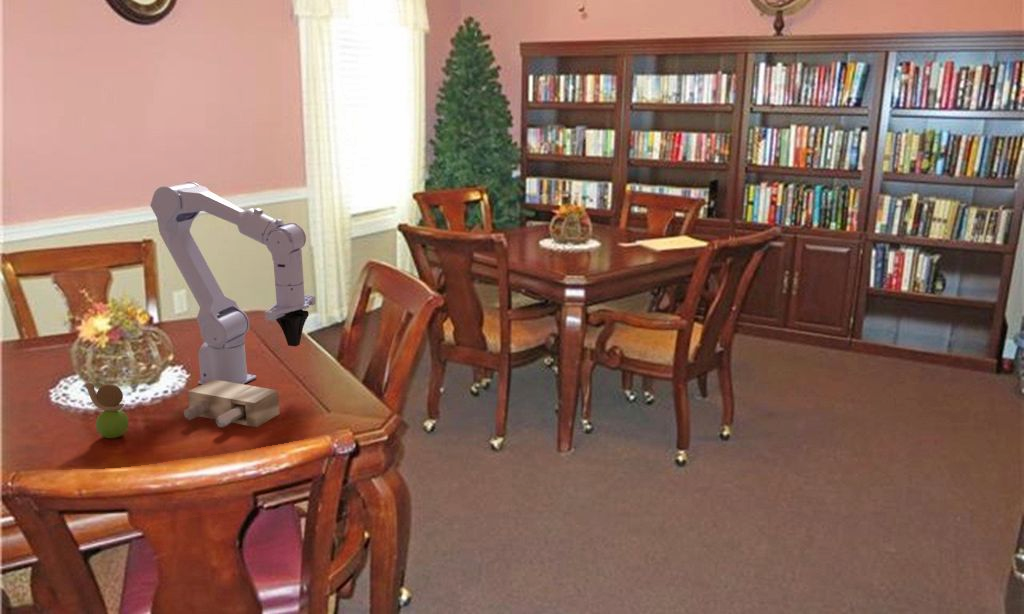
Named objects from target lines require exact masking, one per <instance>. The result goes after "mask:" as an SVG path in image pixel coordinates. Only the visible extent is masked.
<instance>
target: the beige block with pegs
mask: <svg viewBox="0 0 1024 614" xmlns="http://www.w3.org/2000/svg"><path fill="white" fill-rule="evenodd" d="M187 395H188V404H189V405H188V406H189V407H188V408H186V409H184V411H183V416H184V418H185V419H186V420H188V421H191V420H194V419H195V418H198V417H201V418H206V419H210V420H216V418H217V417H218V416H220V415H222V414H224V413H226V412H228V411H229V410H231V409H233V408H235V407H237V406H239V405H245V409H246V415H244V416H243V417H241V418H239V419H237V420H235V421H234V422H232V423H233V424H237V425H243V426H248V427H251V428H259V426H262V425H263V424H265V423H266V422H268V421H270V420H271V419H274V418H275V417H277V416H279V415H280V410H281V409H280V401H279V390H278V389H271V388H266V387H261V386H255V385H249V384H238V383H232V382H226V381H220V380H214V379H212V380H210V381H208V382H206V383H204V384H200V385H198V386H196V387H194V388H192V389H189V390H187ZM232 423H231V424H232Z"/></svg>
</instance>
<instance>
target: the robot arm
mask: <svg viewBox="0 0 1024 614" xmlns="http://www.w3.org/2000/svg"><path fill="white" fill-rule="evenodd" d="M150 208H151V209H152V210H151V211H153V213H154V216H155V217H156V220H157V226H158V232H159V235H160V237H161V238H162V240H163V242H164V244H165V246H166V248H167V249H168V251H169V253H170V255H171V257H172V259H173V260H174V263H175V264H176V266H177V268H178V270H179V271H180V274H181V275H182V277H183V278H184V281H185V283H186V284H187V287H188V288H189V290H190V292H191V294H192V295H193V297H194V299H195V301H196V303H197V305H198V306H199V311H198V313H197V316H196V322H197V324H198V326H199V331H200V336H201V339H202V340H203V344H202V345H201V346H200V348H199V351H198V365H199V372H200V373H199V374H200V380H198V382H197V383H198V384H200V385H202V384H204V383H206V382H208V381H210V380H212V379H214V380H220V381H226V382H232V383H238V384H244V385H246V384H247V383H248V382H250V381H253V380H254V379H256V378H257V375H255V374H249V373H248V368H247V359H246V358H247V357H246V346H245V340H246V334H247V332H249V330H250V324H251V323H250V319H249V317H248V315H247V313H246V312H245V311H244V310H242V309H241V308H240V307H239V306H238V304H237V302H236V301H235V300H233V299H231V298H229V297H227V296H225V294H224V292H223V290H222V289H221V287H220V285H219V283H218V281H217V279H216V278H215V276H214V274H213V272H212V271H211V269H210V267H209V265H208V263H207V261H206V260H205V258H204V256H203V254H202V252H201V250H200V249H199V246H198V244H197V243H196V241H195V239H194V237H193V235H192V233H191V230H190V229H191V227H192V224H193V221H194V220H195V219H196V218H197V217H198V215H199V214H200V213H201V212H205V213H207V214H210V215H212V216H215V217H217V218H220V219H221V220H224V221H226V222H229V223H231V224H234V225H236V226H237V230H238V231H239V233H240V234H241V235H244V236H245V237H248V238H250V239H252V240H254V241H256V242H258V243H260V244H262V245H264V246H266V248H267V249H268V251H269V252H270V254H271V257H272V261H273V272H274V287H275V299H276V302H275V304H274V305H273V306H272V307H270V308H269V309H268V310H265V311H264V317H265V318H264V319H265V320H264V321H266V322H277V323H278V325H279V327H280V328H281V330H282V332H283V335H284V337H285V340H286V344H287V346H289V347H299V346H300V344H301V339H302V334H303V329H304V327H305V323H306V321H307V319H308V317H309V310H307V309H309V308H310V306H315V305H316V304H317V303H316V296H315V295H311V294H305V285H304V284H305V283H304V280H305V279H304V269H303V268H304V265H303V253H302V249H303V248H304V246H305V245H306V241H307V235H306V232H305V231H304V229H303V228H302V227H301V226H300V225H298V224H297V222H289V223H285V222H284V221H283V220H282V219H281V218H277V219H276V218H274V217H272V216H270V215H268V214H266V213H264V209H262V208H260V207H257V208H252V207H251V208H248V209H246V210H245V209H242V208H241V207H239V206H237V205H236V204H234V203H232V202H230V201H228V200H226V199H225V198H222V197H220V196H219V195H218V194H217V193H216V194H215V193H214V192H212V191H210V190H209V188H208V187H207V186H204V185H200V184H198V183H196V182H194V181H188V182H184V183H180V184H175V185H169V186H164V185H163V186H160V187H158V188H157V189H156V190H155V191H154V193H153V196H152V199H151V202H150Z"/></svg>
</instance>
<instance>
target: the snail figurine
mask: <svg viewBox="0 0 1024 614" xmlns="http://www.w3.org/2000/svg"><path fill="white" fill-rule="evenodd" d="M83 379H84V380H85V388H86V390H87V392H88V395H89V398H90V400H91V402H92V403H93V405H94V406H95V407H96V408H98V409H100V410H103V411H102V412H101V413H100V414H98V416H97V418H96V420H95V429H96V431H97V433H98V434H99V435H100V436H102V437H104V438H106V439H116V438H119V437H121V436H122V435H124V434H125V433H126V432H127V430H128V428H129V424H130V423H129V422H130V420H129V417H128V415H127V414H126V412H125V411H123V410H121V409H122V408H123V407H124V406H125V403H121V402H122V400H123V399H124V394H123V391H122V389H121V387H119V386H117V385H116V384H113V383H112V384H111V383H107V384H103V385H101V386H100V387H99V388H98V390H97V392H96V390H95V384H94V382H92V381H89V375H85V377H83Z"/></svg>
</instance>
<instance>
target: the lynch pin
mask: <svg viewBox="0 0 1024 614" xmlns="http://www.w3.org/2000/svg"><path fill="white" fill-rule="evenodd" d="M244 415H246V409H245V405H239V406H237V407H235V408H233V409H231V410H229V411H228V412H226V413H224V414H222V415H220V416H218V417H217V418H216V419H215V424H216V426H217V427H219V428H222V429H223V428H225V427H226V426H228V425H230V424H232V422H234V421H235V420H237V419H239V418H241V417H243V416H244Z"/></svg>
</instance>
